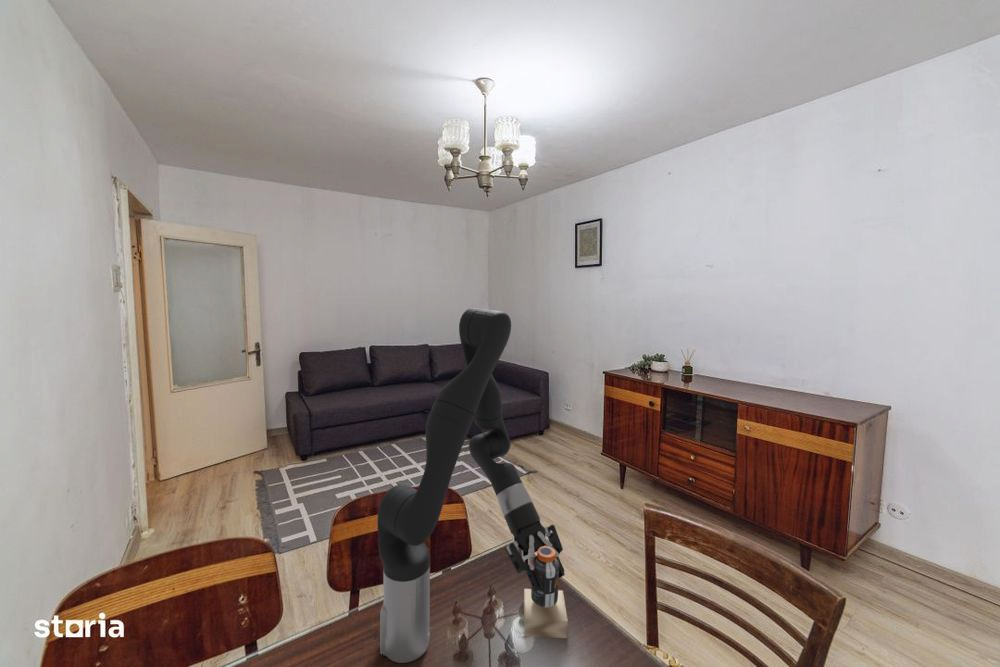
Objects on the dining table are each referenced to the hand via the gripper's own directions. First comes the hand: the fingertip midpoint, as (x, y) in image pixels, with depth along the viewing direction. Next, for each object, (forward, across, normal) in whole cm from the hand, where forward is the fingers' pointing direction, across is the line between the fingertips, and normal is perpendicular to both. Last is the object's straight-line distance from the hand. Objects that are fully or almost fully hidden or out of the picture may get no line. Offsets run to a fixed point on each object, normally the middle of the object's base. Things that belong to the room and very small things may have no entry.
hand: (550, 582), depth 91 cm
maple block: (+6, 0, +8) cm, 10 cm away
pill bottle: (+2, 0, +5) cm, 5 cm away
